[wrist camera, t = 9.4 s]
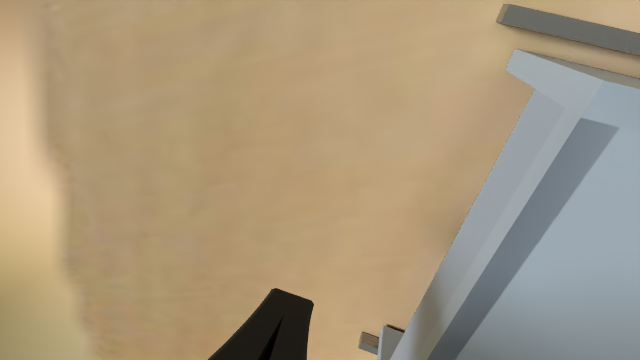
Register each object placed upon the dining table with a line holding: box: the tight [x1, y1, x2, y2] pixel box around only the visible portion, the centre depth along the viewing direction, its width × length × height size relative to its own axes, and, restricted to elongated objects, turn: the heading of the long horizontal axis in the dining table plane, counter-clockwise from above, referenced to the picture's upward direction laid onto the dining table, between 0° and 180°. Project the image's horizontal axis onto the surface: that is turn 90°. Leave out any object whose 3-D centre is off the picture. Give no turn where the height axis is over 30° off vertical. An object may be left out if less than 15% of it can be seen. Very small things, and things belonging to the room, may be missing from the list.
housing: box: [377, 49, 640, 360], centre depth 13 cm, size 18×10×7 cm, turn 168°
